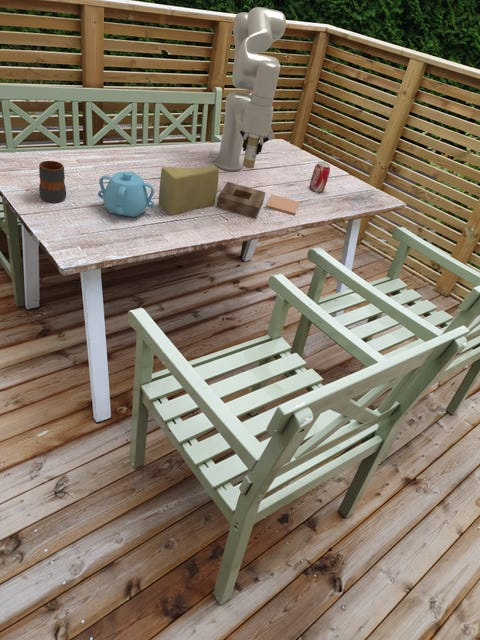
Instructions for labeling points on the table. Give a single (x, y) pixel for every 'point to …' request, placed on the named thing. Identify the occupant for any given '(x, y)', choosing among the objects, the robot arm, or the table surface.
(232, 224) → the table surface
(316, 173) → the soda can
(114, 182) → the decorative pot
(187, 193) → the cheese
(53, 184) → the mug
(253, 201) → the frame
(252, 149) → the sprinkles bottle
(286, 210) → the terracotta tile
